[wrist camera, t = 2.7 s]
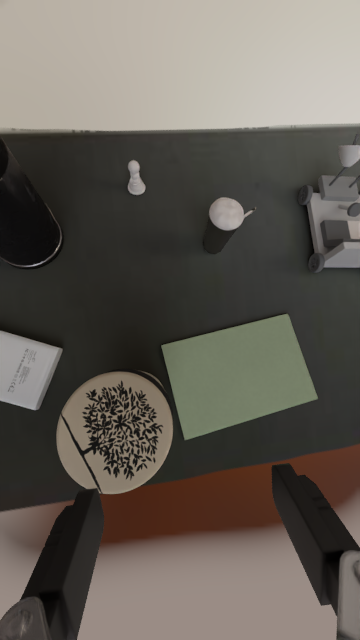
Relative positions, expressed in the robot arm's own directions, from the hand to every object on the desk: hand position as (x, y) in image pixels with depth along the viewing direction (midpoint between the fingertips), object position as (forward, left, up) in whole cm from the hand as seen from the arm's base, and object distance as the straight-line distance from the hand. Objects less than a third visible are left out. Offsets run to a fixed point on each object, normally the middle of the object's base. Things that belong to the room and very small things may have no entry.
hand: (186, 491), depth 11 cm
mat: (+9, +8, -23) cm, 26 cm away
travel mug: (-4, +1, -23) cm, 24 cm away
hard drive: (-22, +1, -23) cm, 32 cm away
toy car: (+20, +37, -23) cm, 48 cm away
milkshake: (+1, +27, -23) cm, 35 cm away
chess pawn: (-14, +33, -23) cm, 42 cm away
